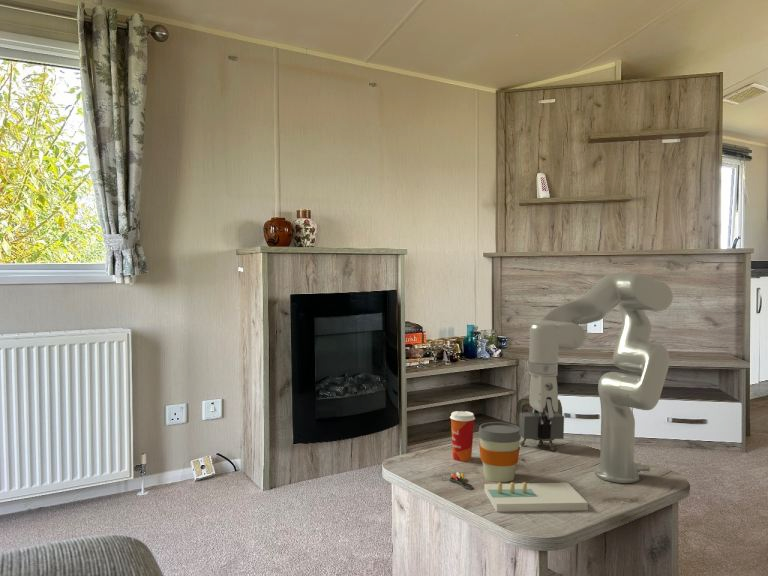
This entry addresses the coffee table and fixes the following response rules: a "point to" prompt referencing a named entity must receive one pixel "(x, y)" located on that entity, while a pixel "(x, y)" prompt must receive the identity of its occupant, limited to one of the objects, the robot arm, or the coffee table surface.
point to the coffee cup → (462, 435)
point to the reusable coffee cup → (499, 450)
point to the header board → (534, 497)
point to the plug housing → (532, 420)
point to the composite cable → (460, 480)
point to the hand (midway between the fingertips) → (541, 435)
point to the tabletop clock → (526, 408)
